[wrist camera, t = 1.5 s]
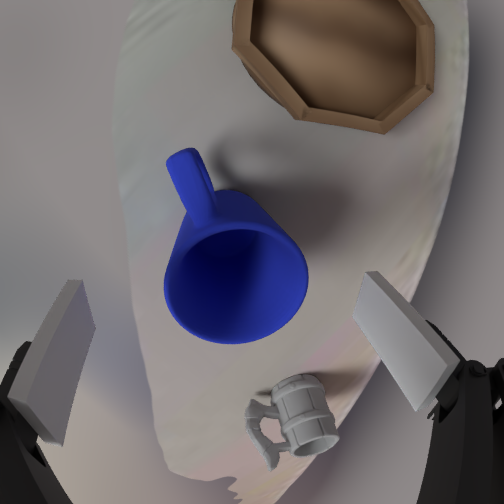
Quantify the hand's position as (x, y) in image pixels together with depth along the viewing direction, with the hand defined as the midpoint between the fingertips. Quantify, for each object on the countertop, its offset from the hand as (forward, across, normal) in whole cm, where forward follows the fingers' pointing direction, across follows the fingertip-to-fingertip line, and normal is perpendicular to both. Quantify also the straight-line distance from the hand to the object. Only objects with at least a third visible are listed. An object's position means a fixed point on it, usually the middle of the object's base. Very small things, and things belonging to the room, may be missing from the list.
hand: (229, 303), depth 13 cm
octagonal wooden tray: (+13, +9, +16) cm, 23 cm away
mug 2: (+13, +9, -26) cm, 30 cm away
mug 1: (+13, 0, 0) cm, 13 cm away
